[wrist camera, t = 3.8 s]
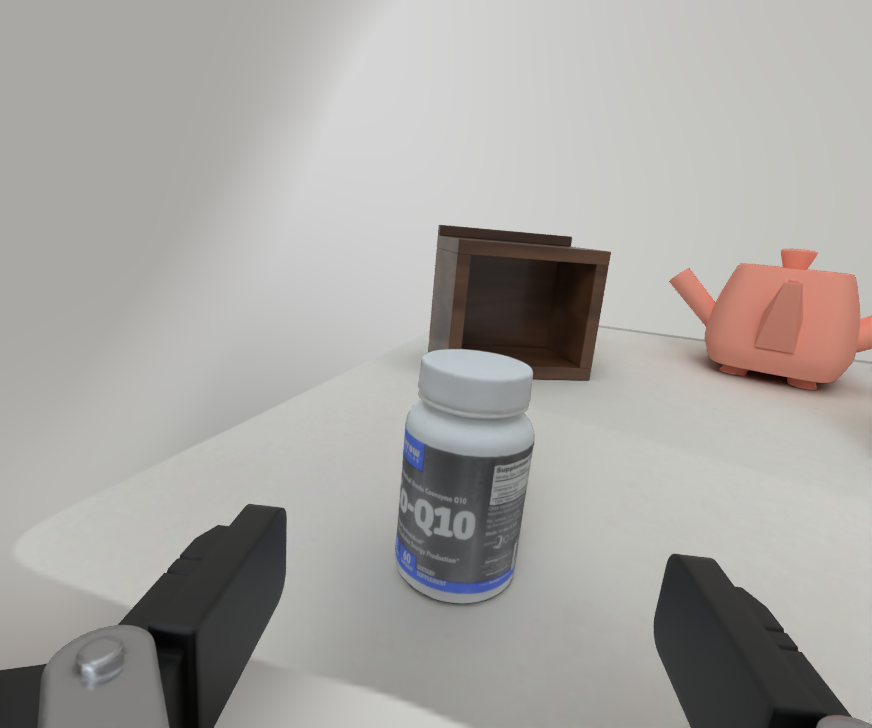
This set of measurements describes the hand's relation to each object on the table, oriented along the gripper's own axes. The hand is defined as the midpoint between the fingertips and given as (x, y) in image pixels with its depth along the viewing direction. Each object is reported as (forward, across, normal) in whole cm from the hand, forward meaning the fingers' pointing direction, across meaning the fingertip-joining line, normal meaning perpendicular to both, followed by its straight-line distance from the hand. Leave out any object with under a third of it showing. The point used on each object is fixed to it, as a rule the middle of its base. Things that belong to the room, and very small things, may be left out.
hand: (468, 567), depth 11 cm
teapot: (+51, -35, +6) cm, 62 cm away
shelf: (+42, -4, +6) cm, 42 cm away
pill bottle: (+8, 0, +6) cm, 11 cm away
